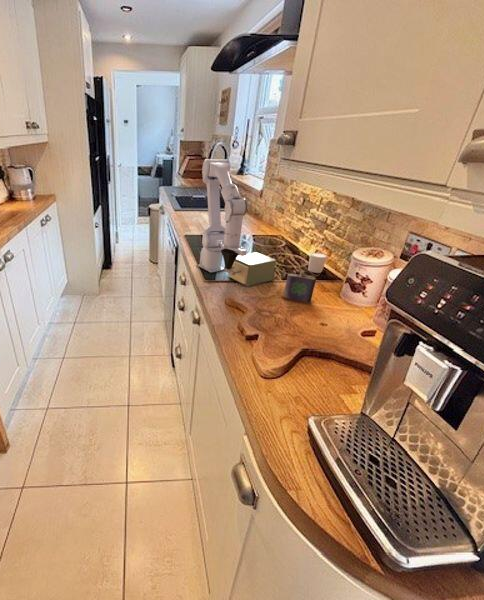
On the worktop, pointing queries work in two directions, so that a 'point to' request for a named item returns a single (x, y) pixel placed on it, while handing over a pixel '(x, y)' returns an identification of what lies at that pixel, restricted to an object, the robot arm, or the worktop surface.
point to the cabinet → (257, 267)
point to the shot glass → (317, 262)
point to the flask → (299, 287)
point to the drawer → (238, 272)
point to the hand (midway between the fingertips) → (228, 268)
